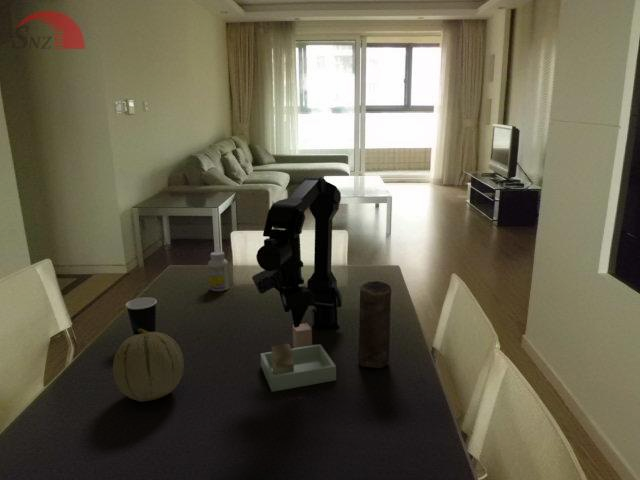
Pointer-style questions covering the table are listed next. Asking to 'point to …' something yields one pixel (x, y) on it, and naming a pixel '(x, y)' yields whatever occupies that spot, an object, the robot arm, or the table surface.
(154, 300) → the dixie cup
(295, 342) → the coral block
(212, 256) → the supplement bottle
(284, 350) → the maple block
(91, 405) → the table surface
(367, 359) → the candle
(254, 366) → the table surface
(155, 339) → the cantaloupe
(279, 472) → the table surface
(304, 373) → the sage tub
